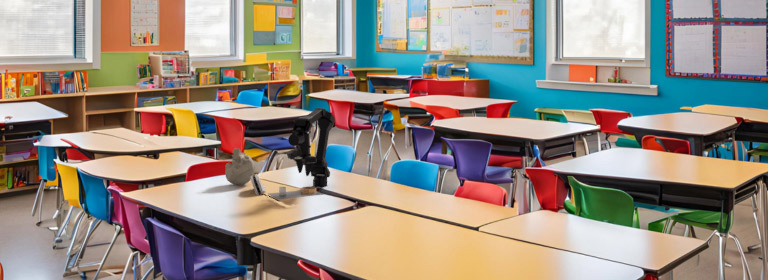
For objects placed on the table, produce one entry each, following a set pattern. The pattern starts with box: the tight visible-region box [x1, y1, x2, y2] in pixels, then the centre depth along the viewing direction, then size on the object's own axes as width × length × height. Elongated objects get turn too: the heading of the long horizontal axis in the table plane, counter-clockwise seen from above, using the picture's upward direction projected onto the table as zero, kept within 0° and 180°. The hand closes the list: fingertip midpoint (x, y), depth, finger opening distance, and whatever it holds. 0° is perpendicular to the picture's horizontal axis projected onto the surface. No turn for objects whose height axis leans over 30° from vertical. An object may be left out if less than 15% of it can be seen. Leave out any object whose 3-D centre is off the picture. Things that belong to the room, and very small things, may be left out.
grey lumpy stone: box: [224, 147, 256, 186], centre depth 377 cm, size 13×15×20 cm
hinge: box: [250, 173, 266, 196], centre depth 362 cm, size 17×5×10 cm, turn 12°
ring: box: [300, 186, 317, 194], centre depth 356 cm, size 7×7×2 cm
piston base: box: [267, 186, 325, 202], centre depth 352 cm, size 24×14×5 cm, turn 121°
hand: (303, 174), depth 356 cm, fingers open, 9 cm apart
